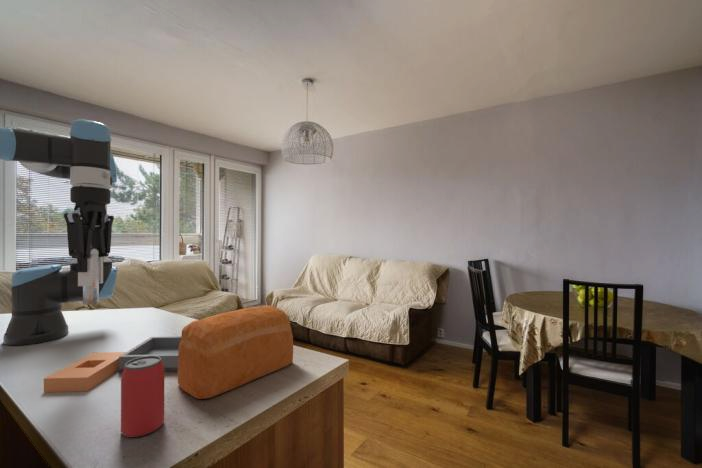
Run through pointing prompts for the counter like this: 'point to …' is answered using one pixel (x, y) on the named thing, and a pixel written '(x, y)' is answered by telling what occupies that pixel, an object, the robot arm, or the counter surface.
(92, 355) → the orange block with hole
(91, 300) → the pin
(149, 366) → the beer can
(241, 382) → the bread
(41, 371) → the counter surface
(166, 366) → the tray
